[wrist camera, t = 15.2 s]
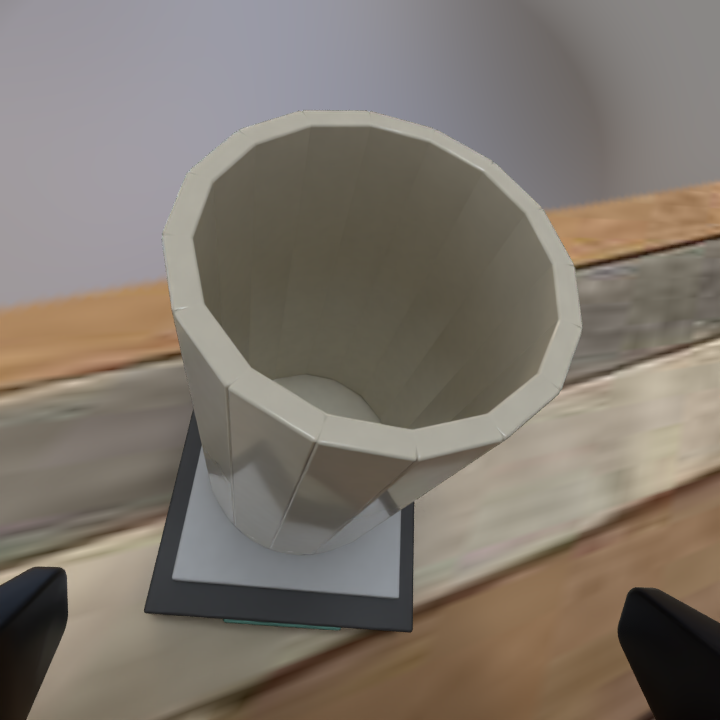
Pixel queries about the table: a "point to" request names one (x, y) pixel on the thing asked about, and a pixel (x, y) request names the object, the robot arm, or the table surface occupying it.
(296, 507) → the tumbler
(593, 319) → the table surface
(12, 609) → the robot arm
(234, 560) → the scale
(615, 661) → the table surface
